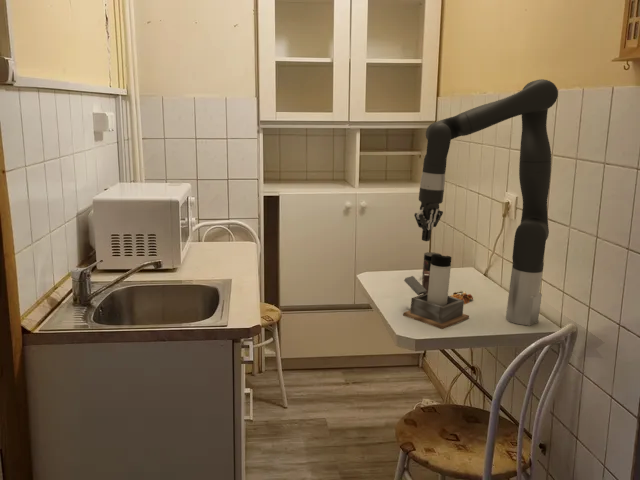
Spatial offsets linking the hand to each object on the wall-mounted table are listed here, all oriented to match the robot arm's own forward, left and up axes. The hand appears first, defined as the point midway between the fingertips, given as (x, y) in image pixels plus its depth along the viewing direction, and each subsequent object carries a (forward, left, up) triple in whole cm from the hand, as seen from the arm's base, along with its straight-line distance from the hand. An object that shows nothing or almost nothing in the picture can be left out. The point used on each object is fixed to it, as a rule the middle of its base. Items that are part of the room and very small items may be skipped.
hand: (425, 240), depth 190 cm
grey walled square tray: (-6, 0, -24) cm, 25 cm away
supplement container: (+19, -33, -24) cm, 45 cm away
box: (+10, -20, -24) cm, 33 cm away
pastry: (-2, -20, -25) cm, 32 cm away
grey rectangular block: (+3, 0, -16) cm, 17 cm away
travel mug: (-7, 0, -23) cm, 24 cm away
